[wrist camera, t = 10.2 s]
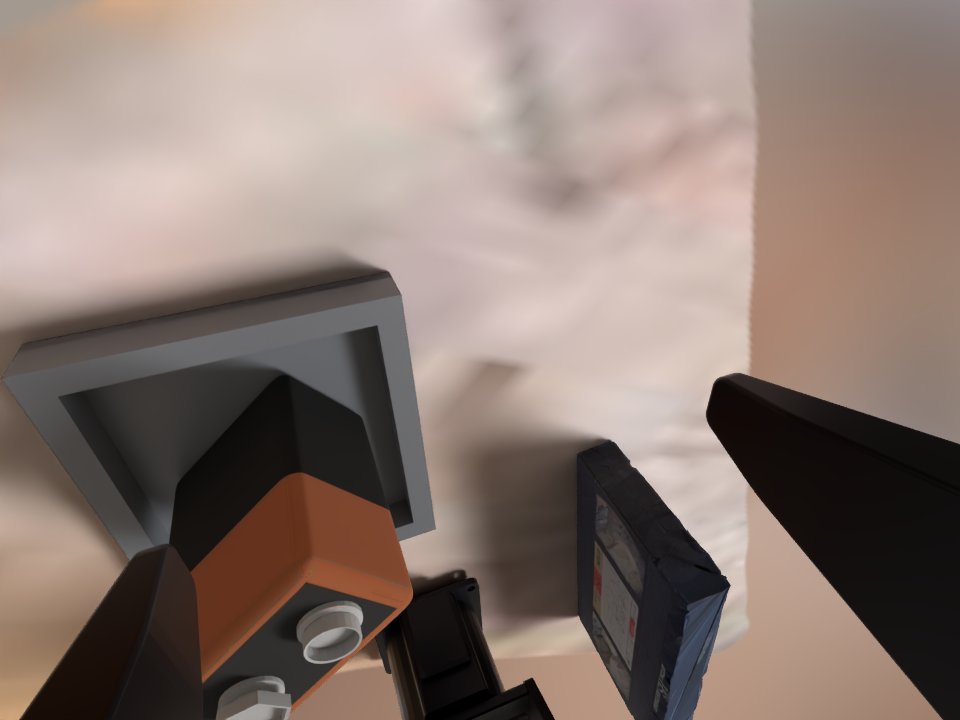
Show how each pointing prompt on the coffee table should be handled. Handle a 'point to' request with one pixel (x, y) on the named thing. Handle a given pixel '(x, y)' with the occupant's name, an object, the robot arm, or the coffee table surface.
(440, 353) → the coffee table surface
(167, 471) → the tray
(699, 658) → the vhs cassette tape
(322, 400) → the battery
